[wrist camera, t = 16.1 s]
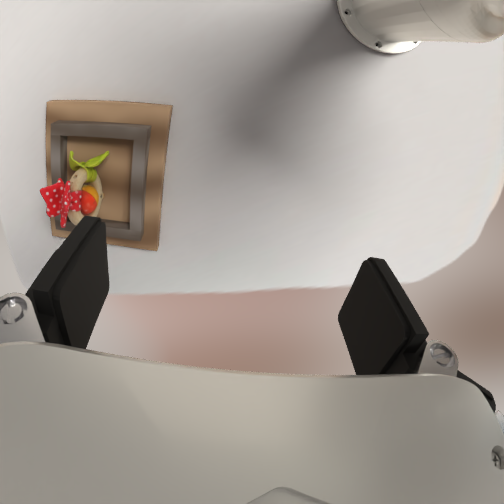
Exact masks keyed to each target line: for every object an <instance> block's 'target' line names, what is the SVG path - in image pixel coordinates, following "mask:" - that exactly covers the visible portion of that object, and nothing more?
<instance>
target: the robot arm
mask: <svg viewBox="0 0 504 504" xmlns="http://www.w3.org/2000/svg"><path fill="white" fill-rule="evenodd" d="M337 6H338V11H339V14H340V16H341V19H342V21H343V23H344V24H345V26H346V28H347V29H348V30H349V31H350V33H351V34H352V35H353V36H354V37H355V38H356V39H357V40H358V41H360V42H361V43H362V44H364V45H365V46H367V47H369V48H371V49H373V50H376V51H379V52H383V53H390V54H397V53H404V52H408V51H410V50H412V49H414V48H415V47H416V46H418V45H419V44H420V42H421V41H440V42H467V43H468V42H470V43H485V42H490V41H493V40H495V39H497V38H499V37H500V36H502V35H503V34H504V0H337ZM344 12H347V15H346V14H345V13H344ZM376 43H377V47H376ZM108 291H109V274H108V260H107V243H106V224H105V222H101V218H100V217H93V216H84V217H83V218H82V219H81V220H80V222H79V223H78V224H77V225H76V227H75V228H74V229H73V231H72V232H71V233H70V234H69V236H68V237H67V238H66V240H65V241H64V242H63V244H62V245H61V246H60V248H59V249H57V250H56V251H55V252H54V254H53V255H52V256H51V258H50V259H49V261H48V262H47V263H46V265H45V266H44V268H43V269H42V270H41V272H40V273H39V275H38V276H37V278H36V279H35V281H34V282H33V284H32V285H31V287H30V288H29V290H28V291H27V293H26V294H25V295H24V294H21V293H10V294H6V295H4V296H2V297H0V504H504V416H503V414H502V413H501V412H500V411H499V410H498V411H497V412H495V410H496V405H495V401H494V398H493V396H492V394H491V393H490V392H489V391H488V390H486V389H485V388H483V387H482V386H480V385H479V384H477V383H476V382H474V381H473V380H472V379H470V378H469V377H467V376H466V375H464V374H463V373H461V372H460V371H458V358H457V355H456V354H455V352H454V351H453V350H452V349H451V348H450V347H449V346H448V345H447V344H445V343H443V342H441V341H437V340H432V341H430V342H428V343H427V342H426V340H425V339H426V338H427V337H428V335H429V333H428V331H427V329H426V327H425V326H424V324H423V322H422V320H421V319H420V317H419V315H418V313H417V312H416V310H415V308H414V307H413V305H412V303H411V301H410V300H409V298H408V297H407V295H406V293H405V291H404V290H403V288H402V287H401V285H400V283H399V282H398V280H397V278H396V277H395V275H394V274H393V272H392V271H391V269H390V267H389V266H388V264H387V263H386V261H385V260H384V259H379V258H373V257H370V258H368V259H367V260H365V261H364V262H363V263H362V265H361V267H360V269H359V272H358V274H357V276H356V278H355V280H354V283H353V285H352V287H351V289H350V291H349V293H348V295H347V297H346V299H345V301H344V304H343V306H342V308H341V310H340V312H339V315H338V321H339V325H340V327H341V330H342V333H343V336H344V339H345V342H346V345H347V348H348V351H349V354H350V357H351V360H352V363H353V366H354V369H355V372H356V375H301V374H300V375H299V374H277V373H260V372H246V371H233V370H223V369H212V368H202V367H194V366H186V365H178V364H170V363H163V362H157V361H150V360H144V359H138V358H132V357H126V356H119V355H114V354H108V353H103V352H97V351H92V350H87V349H86V347H87V344H88V342H89V339H90V336H91V333H92V331H93V328H94V326H95V323H96V321H97V318H98V316H99V313H100V311H101V309H102V306H103V304H104V301H105V299H106V297H107V294H108Z"/></svg>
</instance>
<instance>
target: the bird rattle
mask: <svg viewBox="0 0 504 504" xmlns="http://www.w3.org/2000/svg"><path fill="white" fill-rule="evenodd" d="M73 155H74V153H73V151H70V154H69V164H70V167H71V169H72V170H74V171H76V172H75V173H74V174H73V176H72V177H71V179H70V181H67V182H66V184H64V182H63V181H62V179H61V178H59V179H58V182H57V183H56V184H54V185H51V186H47V187H44V188H42V189H41V190H40V193H41V195H42V197H43V199H44V200H45V202H46V204H47V209H46V213H47V215H48V216H49V217H55V216H58V215H59V214H61V220H60V225H61V227H62V228H64V227H65V226H66V221H67V215H68V217H69V219H70V221H71V222H72V223H73V224H74V225H77V224H78V223H79V222H80V220H81V219H82V218H83V217H84V216H93V217H97V215H98V212H99V209H100V206H101V202H102V199H103V198H104V193H103V191H102V185H101V181H100V178H99V176H98V174H97V171H96V170H95V169H94V167H96V166H98V165H100V164H101V163H102V162H103V160H104V159H105V158H106V157H107V156H108V155H109V151H106V152H105V153H104V154H101V155H99V156H97V157H94V158H92V159H90V160H88V161H87V162H86V163H85V162H80V163H79V162H77V161H76V160H74V159H73ZM87 182H88V184H89V185H83V184H84V183H87ZM82 185H83V186H82Z"/></svg>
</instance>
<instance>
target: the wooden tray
mask: <svg viewBox="0 0 504 504" xmlns="http://www.w3.org/2000/svg"><path fill="white" fill-rule="evenodd" d="M172 107H173V105H163V104H152V103H139V102H123V101H100V100H52V101H48V102H47V109H46V169H47V186H51V185H54V184H56V183H57V182H58V179H59V178H61V179H62V181H63V182H64V184H66V182H67V181H70V179H71V177H72V176H73V174H74V173H75V172H76V171H74V170H72V169H71V167H70V164H69V154H70V151H73V153H74V155H73V159H74V160H76V161H77V162H79V163H80V162H85V163H86V162H87V161H88V160H90V159H92V158H94V157H97V156H99V155H101V154H104V153H105V152H106V151H109V155H108V156H107V157H106V158H105V159H104V160H103V162H102V163H101V164H100V165H98V166H96V167H94V169H95V170H96V171H97V174H98V176H99V178H100V181H101V185H102V191H103V193H104V198H103V199H102V202H101V206H100V209H99V212H98V215H97V217H100V218H101V222H105V224H106V243H107V244H112V245H118V246H125V247H132V248H139V249H146V250H153V251H157V249H158V246H159V233H160V218H161V204H162V192H163V181H164V171H165V162H166V153H167V144H168V136H169V129H170V121H171V114H172ZM83 185H89V184H88V182H87V183H84V184H83ZM83 185H82V186H83ZM60 220H61V214H59V215H58V216H55V217H50V221H51V229H52V236H58V237H64V238H67V237H68V236H69V234H70V233H71V232H72V231H73V229H74V228H75V227H76V225H74V224H73V223H72V222H71V221H70V219H69V217H68V215H67V221H66V226H65V227H64V228H62V227H61V225H60Z"/></svg>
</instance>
